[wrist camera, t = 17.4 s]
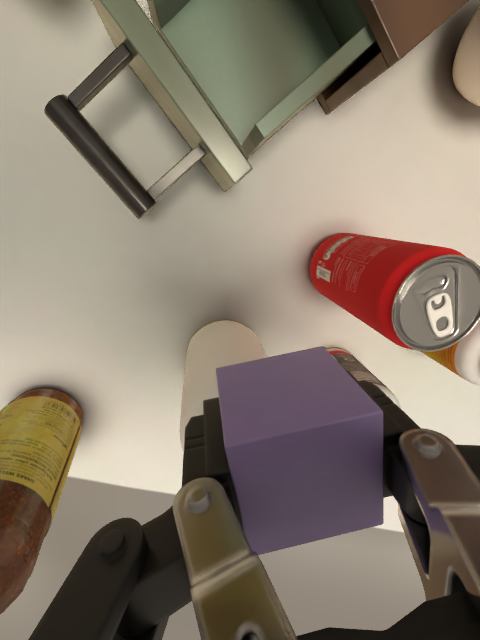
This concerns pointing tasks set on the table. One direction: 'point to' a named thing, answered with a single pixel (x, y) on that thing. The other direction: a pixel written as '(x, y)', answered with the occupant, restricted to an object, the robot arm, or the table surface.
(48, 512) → the sauce bottle
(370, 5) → the cabinet
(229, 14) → the drawer
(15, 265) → the table surface
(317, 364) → the purple cube
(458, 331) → the beverage can
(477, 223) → the table surface
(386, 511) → the table surface
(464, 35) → the cup
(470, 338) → the supplement bottle
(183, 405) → the can
